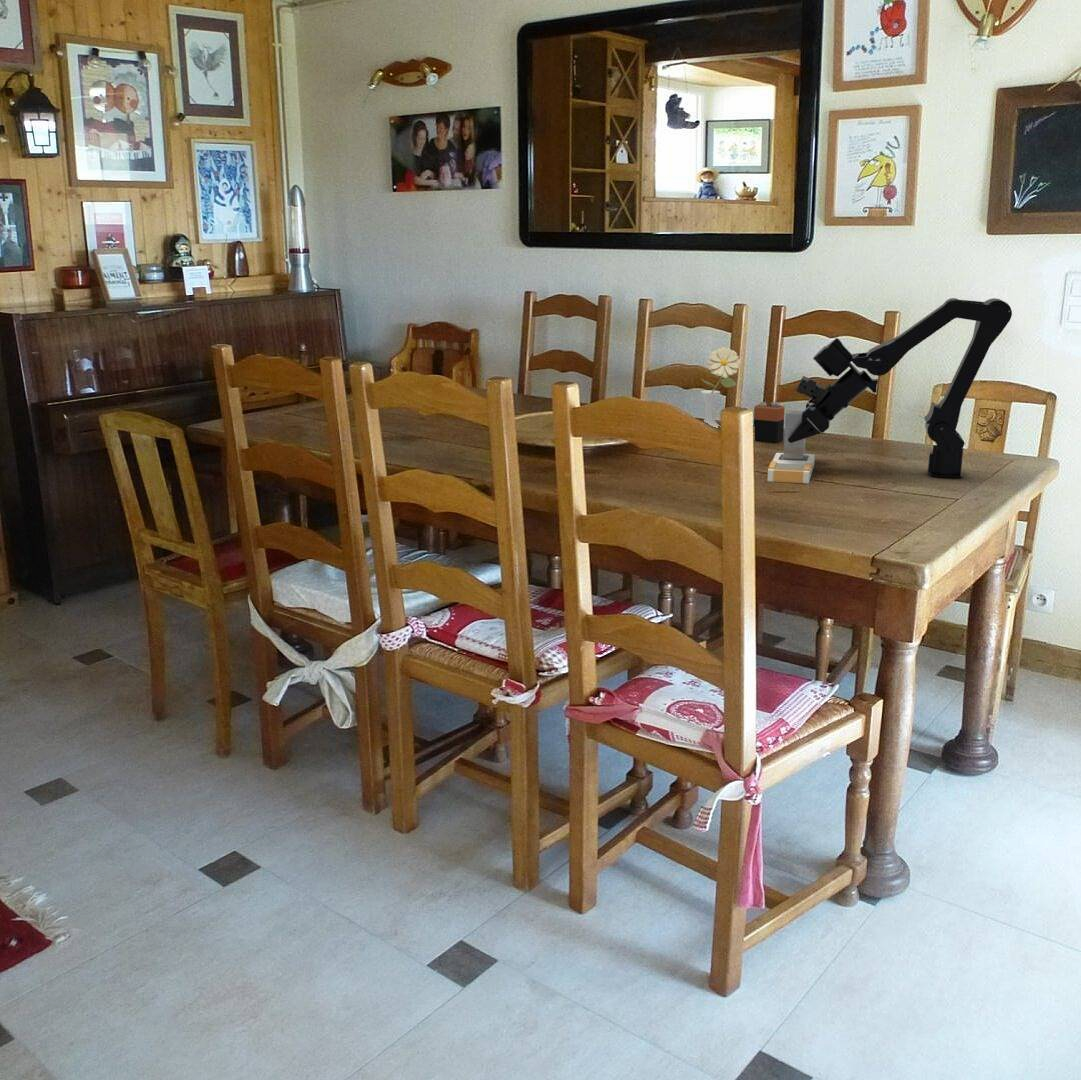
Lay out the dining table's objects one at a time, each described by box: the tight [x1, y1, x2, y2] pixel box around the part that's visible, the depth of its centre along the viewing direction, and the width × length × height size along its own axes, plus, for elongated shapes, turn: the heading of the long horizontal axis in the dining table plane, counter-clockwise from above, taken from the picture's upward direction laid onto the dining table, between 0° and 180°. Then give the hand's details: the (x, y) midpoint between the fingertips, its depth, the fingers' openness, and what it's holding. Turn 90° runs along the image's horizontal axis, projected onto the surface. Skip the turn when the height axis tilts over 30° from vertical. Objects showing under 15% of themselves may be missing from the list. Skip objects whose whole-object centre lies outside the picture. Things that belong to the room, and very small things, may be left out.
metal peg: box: [783, 410, 806, 461], centre depth 245 cm, size 4×4×13 cm
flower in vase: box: [700, 346, 741, 428], centre depth 269 cm, size 13×11×25 cm
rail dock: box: [766, 452, 816, 484], centre depth 242 cm, size 9×19×3 cm, turn 163°
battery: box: [753, 401, 786, 444], centre depth 277 cm, size 4×7×10 cm, turn 53°
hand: (790, 437), depth 245 cm, fingers open, 9 cm apart
